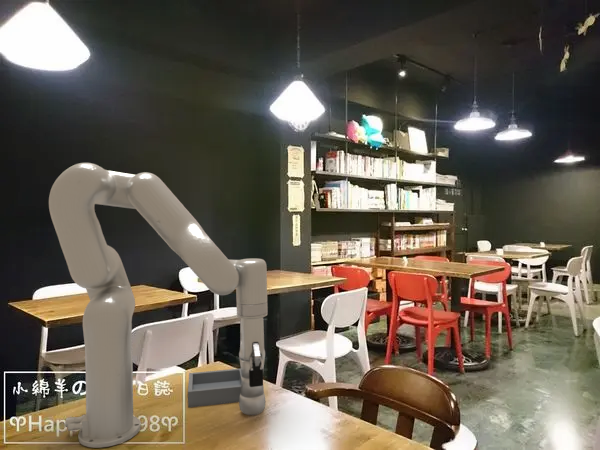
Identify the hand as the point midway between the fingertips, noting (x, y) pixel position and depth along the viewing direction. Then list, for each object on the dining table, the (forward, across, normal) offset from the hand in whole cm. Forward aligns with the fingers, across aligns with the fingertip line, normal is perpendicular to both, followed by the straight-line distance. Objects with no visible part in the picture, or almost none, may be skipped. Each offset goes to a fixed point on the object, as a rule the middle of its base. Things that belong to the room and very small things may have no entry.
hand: (253, 378), depth 101 cm
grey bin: (+8, -13, -8) cm, 18 cm away
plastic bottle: (+9, 0, 0) cm, 9 cm away
